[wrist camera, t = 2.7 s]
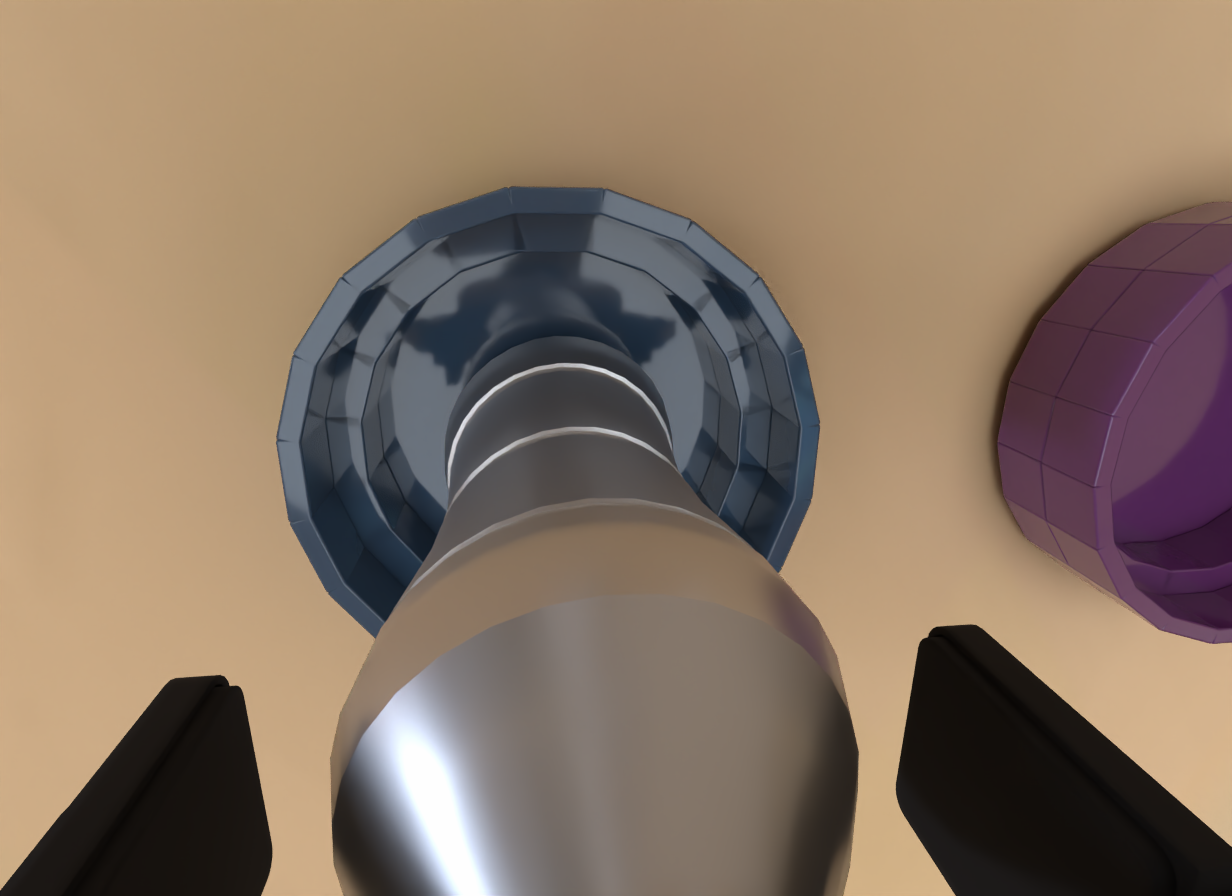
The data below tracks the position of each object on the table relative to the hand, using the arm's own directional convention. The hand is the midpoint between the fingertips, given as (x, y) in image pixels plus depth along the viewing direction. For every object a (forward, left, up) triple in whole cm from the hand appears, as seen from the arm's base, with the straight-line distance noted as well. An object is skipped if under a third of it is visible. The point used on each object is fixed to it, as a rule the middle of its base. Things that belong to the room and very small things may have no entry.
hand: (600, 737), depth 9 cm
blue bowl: (0, 0, -14) cm, 14 cm away
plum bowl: (0, +23, -14) cm, 27 cm away
